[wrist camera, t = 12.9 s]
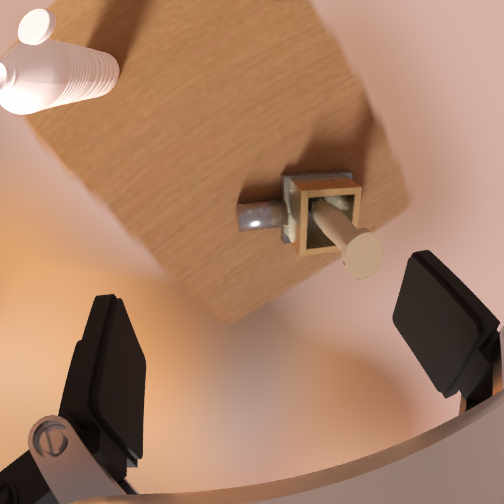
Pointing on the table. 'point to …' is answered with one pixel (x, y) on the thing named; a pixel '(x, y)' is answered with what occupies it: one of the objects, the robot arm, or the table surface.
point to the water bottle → (51, 69)
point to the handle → (349, 240)
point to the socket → (303, 208)
